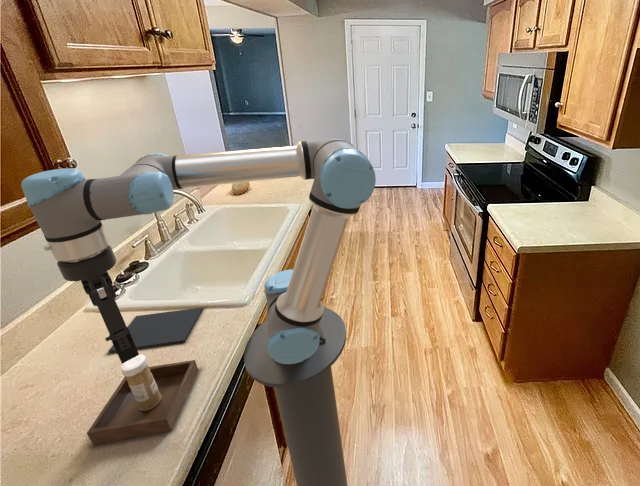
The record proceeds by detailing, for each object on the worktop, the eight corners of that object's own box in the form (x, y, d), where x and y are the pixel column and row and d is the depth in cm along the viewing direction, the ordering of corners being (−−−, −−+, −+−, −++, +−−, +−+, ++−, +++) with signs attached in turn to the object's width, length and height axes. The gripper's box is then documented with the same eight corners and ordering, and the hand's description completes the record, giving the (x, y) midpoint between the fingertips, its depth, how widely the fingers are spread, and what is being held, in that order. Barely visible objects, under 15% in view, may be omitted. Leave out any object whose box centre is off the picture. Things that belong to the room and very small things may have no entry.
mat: (203, 309, 110) (202, 307, 109) (185, 342, 97) (184, 340, 97) (137, 317, 107) (136, 315, 106) (109, 353, 94) (108, 350, 94)
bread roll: (253, 186, 218) (251, 174, 215) (246, 194, 204) (244, 182, 201) (238, 187, 217) (235, 175, 214) (230, 195, 203) (227, 183, 200)
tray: (198, 370, 88) (195, 359, 86) (171, 430, 73) (166, 419, 72) (134, 380, 85) (129, 369, 84) (93, 445, 71) (86, 433, 70)
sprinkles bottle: (166, 396, 81) (150, 356, 76) (148, 414, 77) (129, 373, 72) (153, 391, 82) (136, 351, 77) (134, 409, 78) (115, 367, 73)
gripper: (49, 238, 65) (89, 321, 73) (63, 291, 50) (111, 389, 58) (98, 224, 71) (130, 303, 78) (124, 268, 55) (161, 361, 63)
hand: (122, 340), depth 68 cm, fingers open, 13 cm apart
